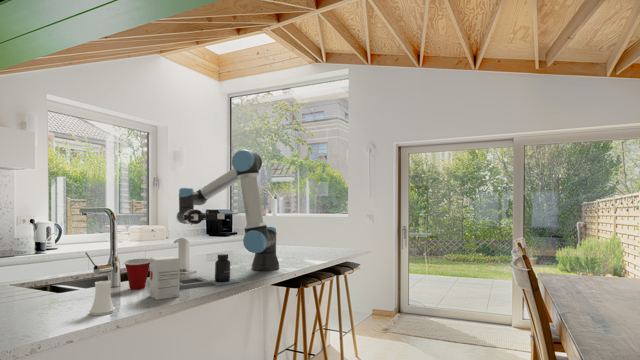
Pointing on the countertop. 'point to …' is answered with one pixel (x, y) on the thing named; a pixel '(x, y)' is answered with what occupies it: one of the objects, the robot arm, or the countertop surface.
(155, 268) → the supplement box
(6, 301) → the countertop surface
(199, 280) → the grey square tray
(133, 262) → the plastic cup
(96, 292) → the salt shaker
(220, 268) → the supplement bottle
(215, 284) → the drip mat
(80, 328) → the countertop surface
